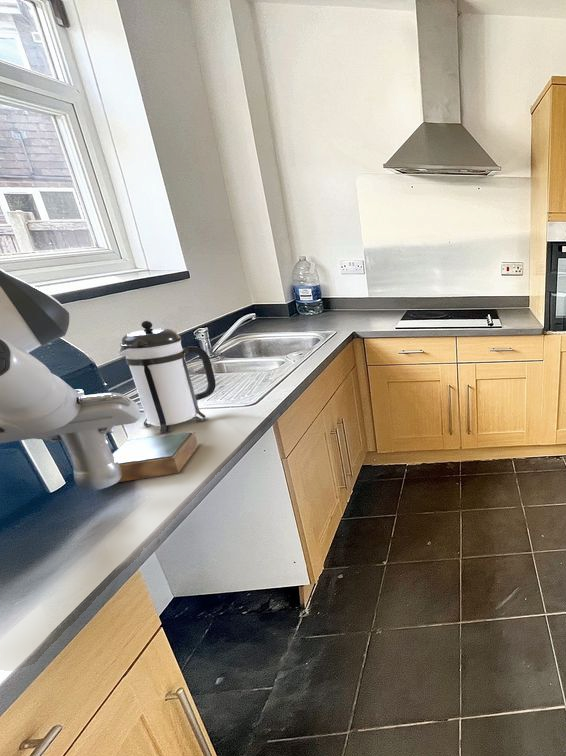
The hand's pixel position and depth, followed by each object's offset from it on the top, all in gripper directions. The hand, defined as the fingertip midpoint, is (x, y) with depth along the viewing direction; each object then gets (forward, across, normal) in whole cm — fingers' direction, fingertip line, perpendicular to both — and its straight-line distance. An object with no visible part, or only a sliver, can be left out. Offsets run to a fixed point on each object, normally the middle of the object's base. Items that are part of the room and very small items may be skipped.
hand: (83, 433), depth 80 cm
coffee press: (+41, -5, -18) cm, 45 cm away
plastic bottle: (+8, 0, +9) cm, 12 cm away
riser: (+21, -4, 0) cm, 22 cm away
